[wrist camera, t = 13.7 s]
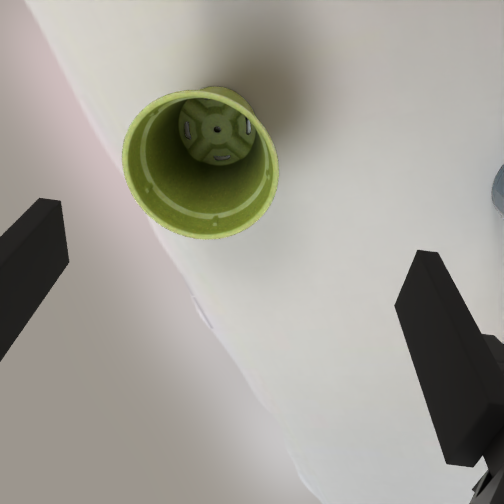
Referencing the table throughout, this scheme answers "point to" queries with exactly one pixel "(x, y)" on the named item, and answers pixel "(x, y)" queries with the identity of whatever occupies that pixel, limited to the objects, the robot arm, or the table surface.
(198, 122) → the plant pot
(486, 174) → the table surface
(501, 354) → the robot arm
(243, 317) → the table surface
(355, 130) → the table surface
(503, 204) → the ceramic cup
